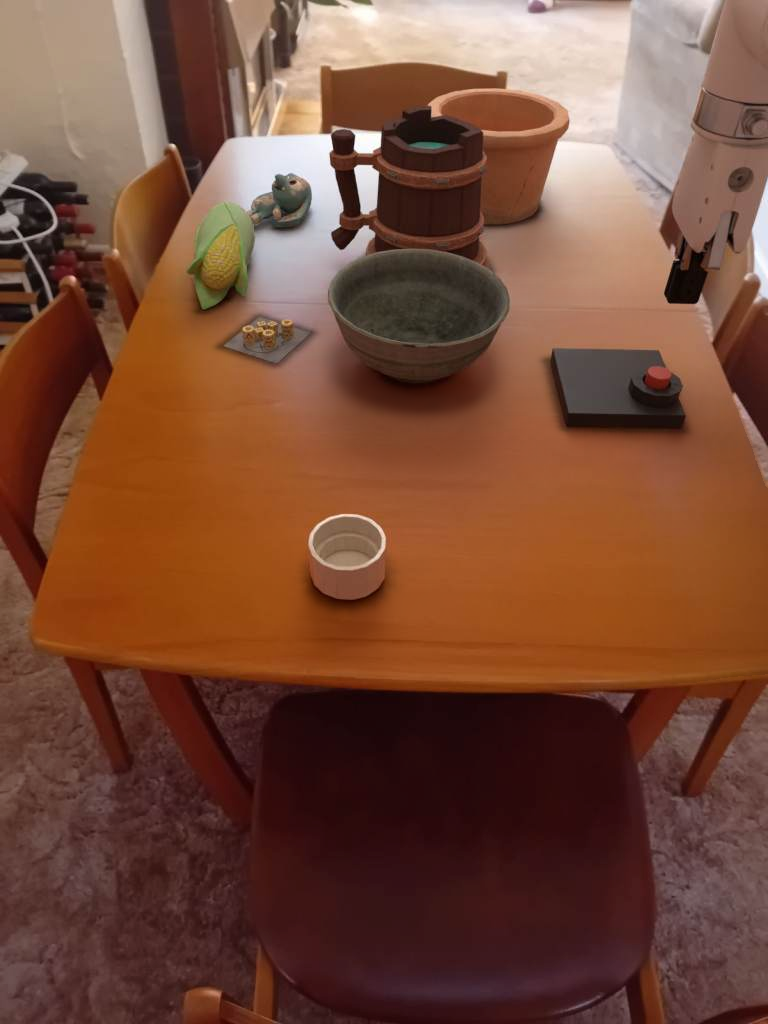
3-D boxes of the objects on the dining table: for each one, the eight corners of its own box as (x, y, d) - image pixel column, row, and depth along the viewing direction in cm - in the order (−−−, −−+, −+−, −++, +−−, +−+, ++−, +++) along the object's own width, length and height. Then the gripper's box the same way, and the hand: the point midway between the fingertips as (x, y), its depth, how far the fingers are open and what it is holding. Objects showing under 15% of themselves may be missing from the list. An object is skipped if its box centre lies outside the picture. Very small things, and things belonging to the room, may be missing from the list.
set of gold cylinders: (296, 334, 101) (295, 321, 100) (273, 353, 98) (272, 340, 97) (263, 324, 103) (262, 311, 102) (240, 342, 100) (238, 329, 98)
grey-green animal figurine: (221, 184, 121) (281, 150, 125) (234, 225, 127) (291, 192, 131) (262, 206, 116) (324, 170, 120) (274, 249, 121) (332, 213, 125)
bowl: (422, 302, 107) (426, 232, 100) (535, 371, 96) (549, 298, 89) (297, 355, 98) (291, 281, 91) (406, 439, 87) (409, 362, 80)
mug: (335, 238, 121) (330, 97, 107) (483, 240, 121) (498, 99, 107) (328, 299, 108) (322, 148, 94) (494, 301, 108) (513, 150, 94)
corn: (271, 210, 116) (258, 280, 102) (244, 252, 121) (229, 324, 107) (220, 178, 113) (200, 245, 99) (195, 222, 117) (172, 293, 103)
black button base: (655, 363, 98) (662, 338, 95) (682, 428, 88) (690, 403, 86) (550, 361, 98) (554, 336, 95) (565, 426, 88) (571, 401, 86)
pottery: (549, 179, 138) (563, 90, 128) (558, 236, 122) (575, 139, 112) (425, 173, 139) (430, 84, 129) (418, 229, 123) (423, 132, 113)
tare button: (664, 377, 90) (668, 366, 89) (670, 390, 88) (674, 379, 87) (642, 376, 90) (645, 365, 89) (647, 390, 88) (650, 379, 87)
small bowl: (371, 540, 76) (371, 506, 72) (395, 592, 71) (396, 559, 68) (303, 557, 74) (299, 523, 71) (323, 611, 69) (320, 578, 66)
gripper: (813, 146, 64) (737, 340, 77) (755, 85, 74) (697, 265, 87) (720, 144, 64) (660, 339, 77) (675, 83, 74) (629, 264, 87)
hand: (680, 299), depth 82 cm, fingers closed
